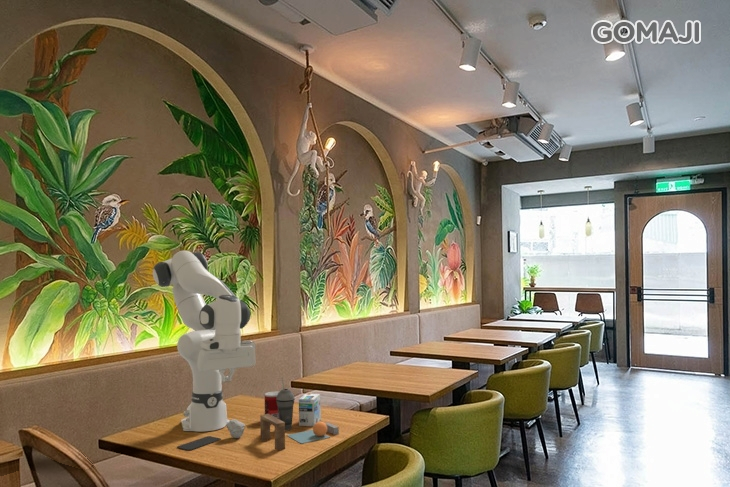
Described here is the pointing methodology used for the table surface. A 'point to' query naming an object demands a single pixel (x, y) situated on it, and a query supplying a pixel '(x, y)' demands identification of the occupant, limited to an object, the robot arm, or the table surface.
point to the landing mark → (306, 437)
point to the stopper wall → (332, 428)
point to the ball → (320, 429)
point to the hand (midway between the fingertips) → (226, 381)
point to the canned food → (271, 404)
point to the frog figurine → (235, 428)
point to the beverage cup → (285, 406)
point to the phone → (198, 443)
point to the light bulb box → (309, 409)
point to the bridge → (279, 430)
